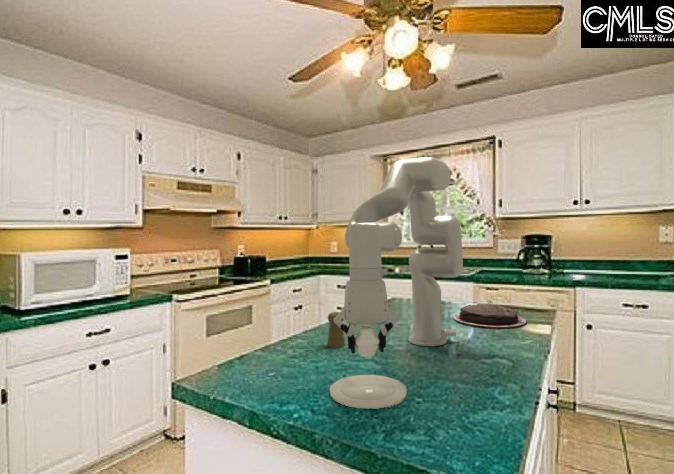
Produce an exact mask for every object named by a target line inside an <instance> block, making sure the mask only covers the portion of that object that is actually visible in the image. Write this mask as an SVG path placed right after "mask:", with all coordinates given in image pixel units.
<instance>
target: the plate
mask: <svg viewBox="0 0 674 474" xmlns="http://www.w3.org/2000/svg"><path fill="white" fill-rule="evenodd" d="M329 396H330V398H331V397H332V398H333V399H334V400H335V401H336V402H338V403H340V404H342V405H341V406H343V405H345V406H349V407H356V408H366V409H369V408H384V407H389V408H391V407H390V406H392V407H395V406H398V405H400V404H401V403H403V402H404V401H405V400H406V398H407V387H406V386H405V384H404V383H402V382H401V381H399V380H398V379H394V378H392V377H388V376H385V375H377V374H360V375H359V374H358V375H352V376H351V375H350V376H346V377H343V378H341V379H338V380H336V381H334V382H333V383H332V384H331V385H330V388H329ZM332 398H331V399H332ZM333 399H332V400H333ZM334 400H333V401H334ZM335 401H334V402H335ZM336 402H335V403H336ZM338 403H337V404H338ZM340 404H339V405H340ZM397 404H398V405H397ZM394 405H395V406H394ZM345 406H344V407H345ZM349 407H348V408H349Z"/></svg>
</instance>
